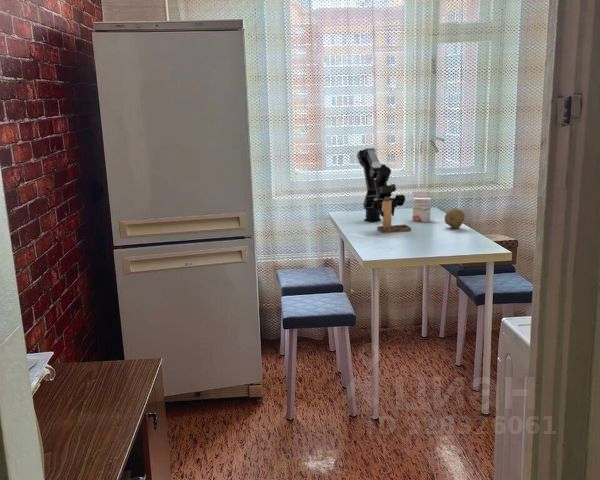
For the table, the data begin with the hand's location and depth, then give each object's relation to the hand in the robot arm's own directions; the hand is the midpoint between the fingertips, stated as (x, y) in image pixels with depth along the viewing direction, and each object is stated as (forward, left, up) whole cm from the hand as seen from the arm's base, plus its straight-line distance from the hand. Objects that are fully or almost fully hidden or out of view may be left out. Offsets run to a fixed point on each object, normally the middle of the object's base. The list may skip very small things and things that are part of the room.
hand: (387, 216), depth 288 cm
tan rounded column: (-1, +1, -7) cm, 7 cm away
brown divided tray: (+1, +4, -8) cm, 9 cm away
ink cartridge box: (-2, +31, -8) cm, 32 cm away
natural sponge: (+20, +25, -8) cm, 33 cm away
